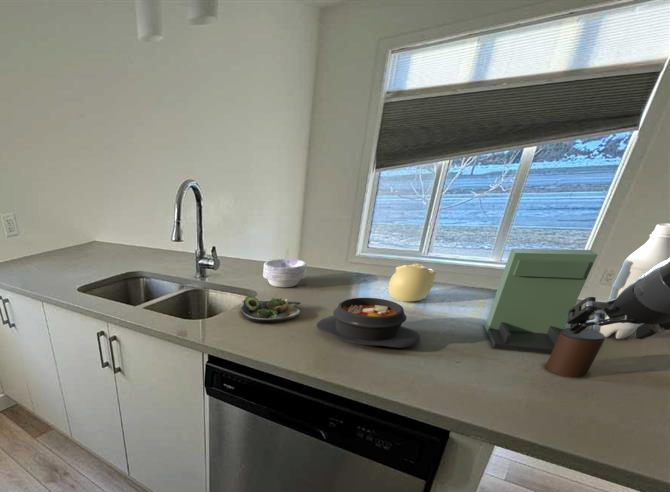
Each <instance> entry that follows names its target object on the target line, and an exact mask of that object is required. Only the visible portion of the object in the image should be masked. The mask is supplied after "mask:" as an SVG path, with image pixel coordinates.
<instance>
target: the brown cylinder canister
mask: <svg viewBox="0 0 670 492" xmlns="http://www.w3.org/2000/svg"><path fill="white" fill-rule="evenodd" d="M604 342H605V337H604V335H603V334H602V333H600V332H598V331H595V330H594V329H592V328H591V329H590V328H586V329H584V330H583V331H581V332H580V333H578V334H572V331H570V327H564V330H563V331H561V333H560V335H559V337H558V340H557V342H556V344H555V346H554V348H553V351H552V353H551V354H549V357H548V360H547V362H546V364H545V369H546V370H547V371H549V372H551V373H553V374H555V375H558V376H562V377H567V378H583V377H586V376H587V374H588V373H589V371H590V368H591V367H592V365H593V363H594V361H595V359H596V357H597V355H598V354H599V351H600V349H601V347H602V346H603V343H604Z"/></svg>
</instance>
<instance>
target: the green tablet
mask: <svg viewBox="0 0 670 492" xmlns="http://www.w3.org/2000/svg"><path fill="white" fill-rule="evenodd" d="M597 256H598V254H597V253H596V252H595V251H593V250H592V249H568V248H567V249H564V248H562V249H559V248H557V249H556V248H511V249H510V252H509V255H508V258H507V261H506V264H505V266H504V268H503V272H502V275H501V278H500V281H499V284H498V287H497V290H496V293H495V295H494V299H493V301H492V304H491V307H490V310H489V313H488V316H487V318H486V321H485V324H484V328H485V330H486V333H487V336H488V338H489V341H490V343H491V346H492V348H493V349H497V350H498V349H500V350H507V351H515V352H516V351H518V352H525V353H526V352H527V353H536V354H537V353H538V354H546V355H551V353H552V351H553V348H554V346H555V344H556V342H557V340H558V337H559V335H560V333H561V331H563V330H564V329H565V328H566V325H567V324H568V316H569V313H568V312H569V310H570V309H571V308H573V307H574V306H576V303H577V301H578V299H579V297H580V295H581V293H582V290H583V288H584V286H585V284H586V281H587V280H588V277H589V274H590V272H591V270H592V268H593V266H594V265H595V264H594V263H595V261H596V259H597Z"/></svg>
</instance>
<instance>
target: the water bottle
mask: <svg viewBox="0 0 670 492" xmlns="http://www.w3.org/2000/svg"><path fill="white" fill-rule="evenodd" d="M669 258H670V223H668V222H667V223H665V222H663V223H662V222H661V223H657V224H656V225H655V227H654V229H653V231H651V233H650V234H649V238H648V239H647V241H646V242H645V243H644V244H642V245H641V246H639V248H637V249H636V250H635V251H633V252H632V253H631V254H629V255H628V256H627V258H625V260H623V262H622V266H621V268H620V270H619V273H618V274H617V277H616V279H615V280H614V283H612V287H611V290H610V294H609V297H608V299H607V301H606V302H608V301H610V300H613V299H616V298H617V297H618V296H619V295H620V294H621V292H622V291H623V290H624V289H625V288H627V287H628V286H629V285H631V284H632V283H633V282H635V281H636V280H637V279H639V278H640V277H641V276H643V275H644V274H645V273H647V272H648V271H649V270H651V269H652V268H653V267H655V266H656V265H658V264H660V263H661V262H663V261H665V260H667V259H669ZM605 319H609V317H608V316H607V314H606V313H605ZM639 326H641V324H633V323H614V324H609V325H604V326H600V325H597V324H596V325H593V330H595V331H598V332H600V333H602V334H603V335H604V338H609V337H611V336H612V335H613V334H614V336H615V339H617V340H623V339H626V338H628V337H630V336H631V335H633V333H635V332H636V329H637V328H638V327H639Z"/></svg>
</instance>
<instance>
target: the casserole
mask: <svg viewBox="0 0 670 492" xmlns="http://www.w3.org/2000/svg"><path fill="white" fill-rule="evenodd" d="M406 321H407V315H406V314H405V310H404V307H403V306H402V305H400V304H399V303H397V302H395V301H393V300H388V299H383V298H378V297H377V298H376V297H354V298H347V299H344V300H343V301H340V302H339V303H338V305H337V307H336V308H335V309H334V310H333V312H332V315H329V316H326V317H324V318H322V319H320V320H319V321H317V323H316V328H317V329H318V330H320V331H323V332H324V333H328V334H330V335H331V336H333V337H335V338H336V339H339V340H341V341H344V342H346V343H350V344H356V345H360V346H361V345H362V346H373V347H378V346H379V347H386V348H387V347H389V348H395V349H396V348H397V349H401V348H403V349H404V348H407V347H412V346H414V345H417V344H418V343H419V342H420V340H421V334H420V333H419V332H418V331H416V330H414V329H412V328H409V327H405V326H403V324H404V323H405V322H406Z"/></svg>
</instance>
